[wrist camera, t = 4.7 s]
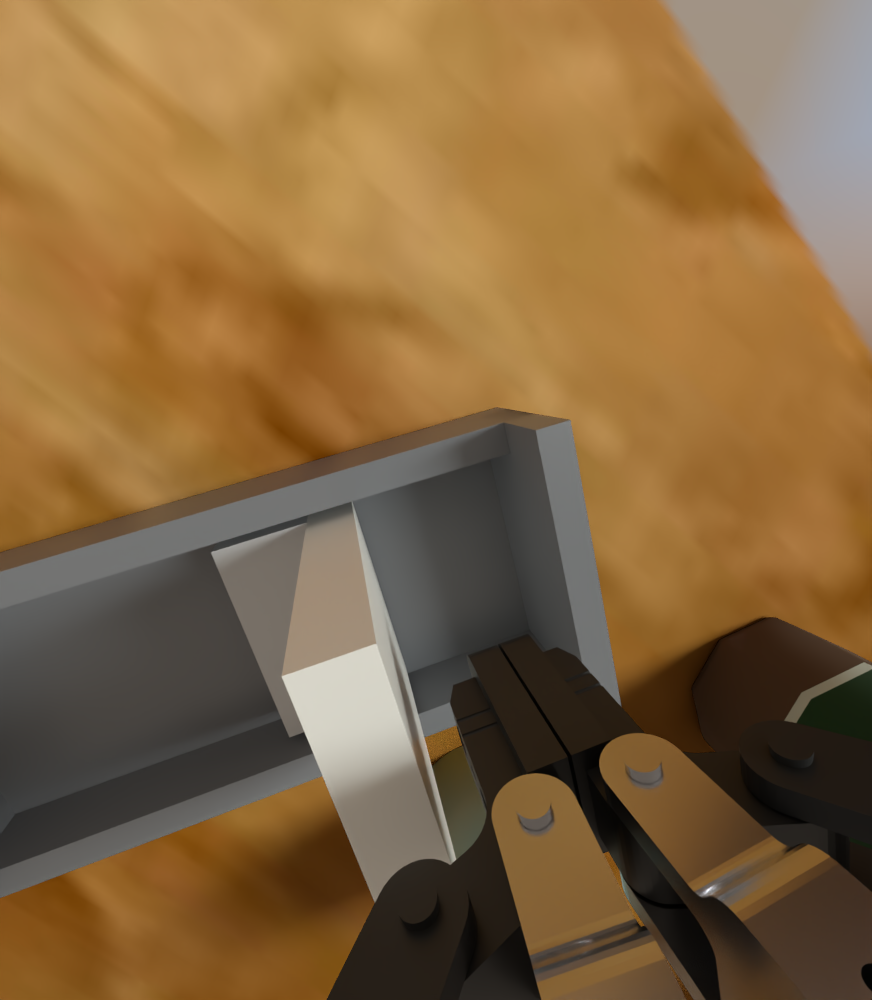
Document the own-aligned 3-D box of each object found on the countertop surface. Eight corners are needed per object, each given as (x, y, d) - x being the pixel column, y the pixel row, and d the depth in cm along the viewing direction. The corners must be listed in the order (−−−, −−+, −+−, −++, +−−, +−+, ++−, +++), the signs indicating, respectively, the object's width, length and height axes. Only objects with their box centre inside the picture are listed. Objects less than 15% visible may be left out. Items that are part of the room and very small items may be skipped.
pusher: (350, 497, 17) (376, 643, 8) (405, 667, 19) (480, 950, 10) (221, 536, 17) (75, 748, 7) (292, 708, 19) (253, 1051, 9)
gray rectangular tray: (497, 407, 19) (570, 419, 13) (546, 630, 22) (623, 720, 16) (-137, 592, 16) (-398, 712, 10) (16, 821, 19) (-122, 1015, 13)
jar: (520, 721, 22) (660, 972, 13) (544, 815, 24) (683, 1100, 15) (399, 767, 22) (453, 1071, 12) (432, 861, 23) (502, 1193, 14)
